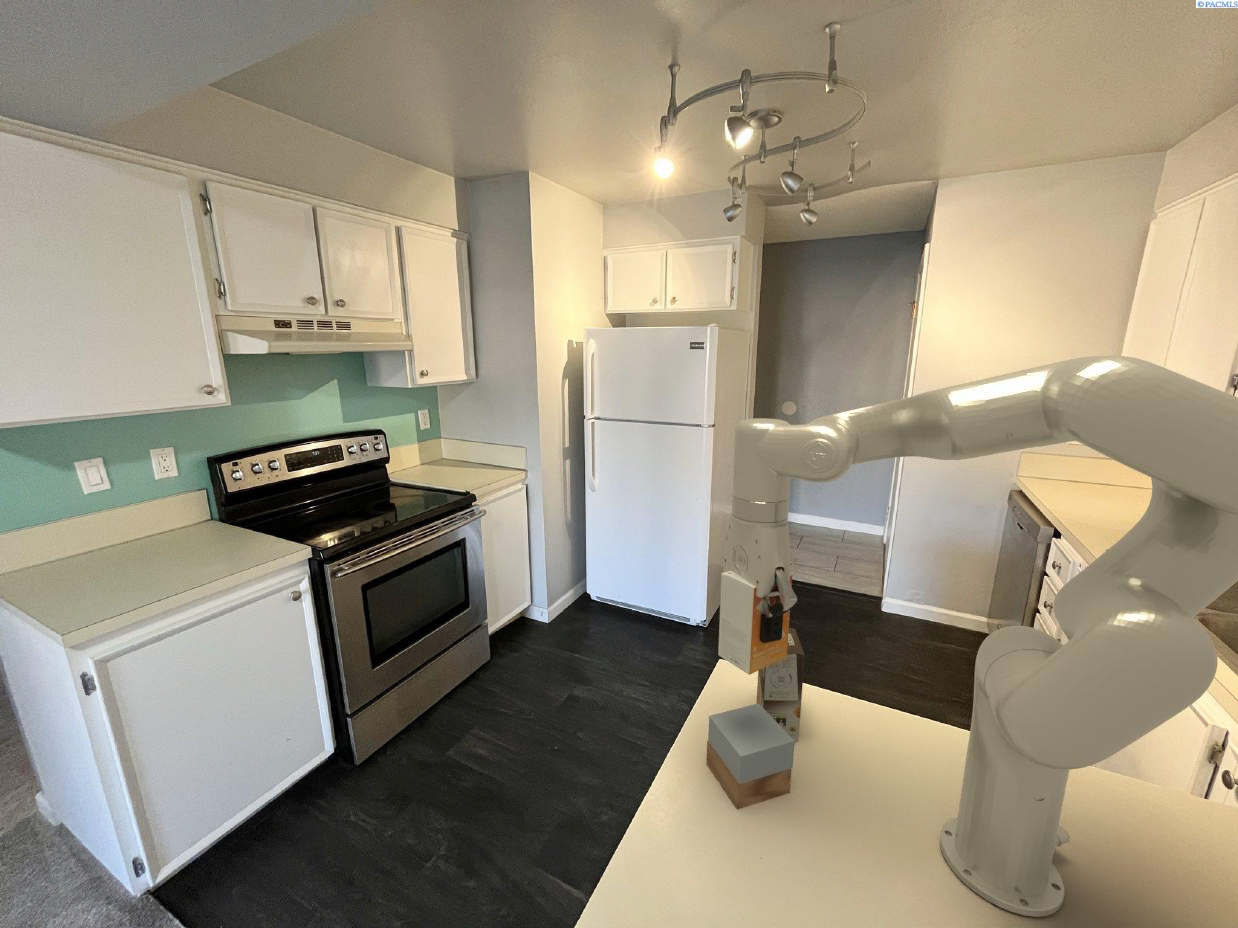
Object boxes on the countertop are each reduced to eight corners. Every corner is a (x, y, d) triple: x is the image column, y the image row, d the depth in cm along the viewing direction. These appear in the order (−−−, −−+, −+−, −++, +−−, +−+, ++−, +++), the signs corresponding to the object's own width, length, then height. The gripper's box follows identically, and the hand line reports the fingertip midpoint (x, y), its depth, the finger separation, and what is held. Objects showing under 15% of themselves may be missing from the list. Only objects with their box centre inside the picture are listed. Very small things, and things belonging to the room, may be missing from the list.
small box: (749, 676, 71) (753, 587, 68) (717, 655, 76) (719, 572, 74) (788, 658, 75) (793, 574, 73) (755, 639, 81) (758, 560, 78)
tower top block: (757, 727, 84) (758, 703, 83) (792, 767, 76) (794, 740, 75) (708, 740, 81) (709, 715, 81) (739, 784, 73) (740, 756, 72)
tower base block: (755, 751, 85) (756, 727, 84) (789, 793, 77) (791, 767, 76) (706, 765, 82) (707, 740, 81) (736, 810, 74) (738, 783, 73)
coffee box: (800, 742, 87) (806, 655, 84) (760, 738, 88) (765, 652, 85) (790, 707, 96) (795, 627, 93) (754, 704, 97) (758, 624, 94)
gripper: (705, 496, 78) (702, 605, 82) (775, 530, 62) (767, 664, 66) (747, 492, 81) (743, 598, 84) (826, 523, 65) (816, 653, 68)
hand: (754, 626), depth 75 cm, fingers closed on small box, 7 cm apart
